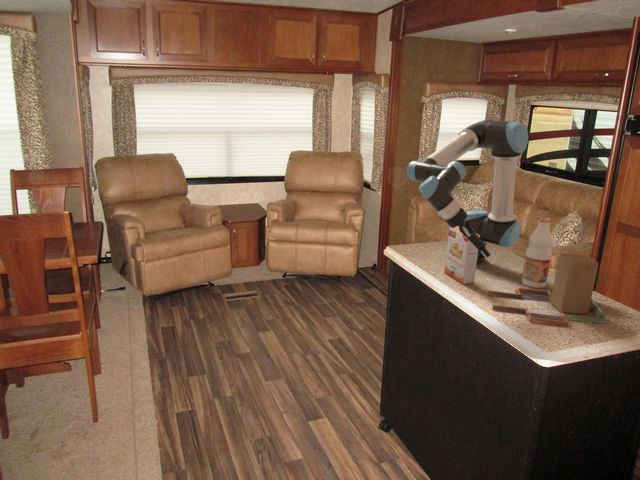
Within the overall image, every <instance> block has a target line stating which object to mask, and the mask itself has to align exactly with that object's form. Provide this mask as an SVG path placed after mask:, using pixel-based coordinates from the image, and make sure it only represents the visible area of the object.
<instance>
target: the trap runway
mask: <svg viewBox="0 0 640 480" xmlns="http://www.w3.org/2000/svg"><path fill="white" fill-rule="evenodd" d="M514 292H515V293H513V292H505V291H504V292H503V291H496V290H495V291H493V290H487V296H493V297H494V296H495V297H504V298H512V299H519V300H530V301H538V302H547V303H551V296H552V292H551V291H550V290H545V289H544V290H543V289H537V288H536V289H535V288H534V289H533V288H526V287H515V290H514ZM491 309H492V311H493V310H494V311H500V312H501V311H502V312H509V313H510V312H511V313H519V314H525V316H526V319H527V320H528V322H529V323H533V324H534V323H535V324H545V325H552V326H559V327H566V328H567V327H569V326H570V321H577V322H579V321H580V322H587V323H588V322H589V323H595V324H602V323H604V324H605V322H606V321H605V320H606V317H607V315H606V314H605V313H604V312H603V311H602V309H601V308H600V307H599V305H598V304H597V303H596V302H595V300H594V299H593V298H591V302H590V308H589V310H591V312H592V311H593V312H592V313H593V314H594V316H595V315H596V316H595V317H591V316H584V315H577V314H569V313H561V312H560V315H553V314H552V315H551V314H545V313H536V312H530V310H529V308H523V307H513V306H507V305H498V304H492V308H491Z"/></svg>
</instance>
